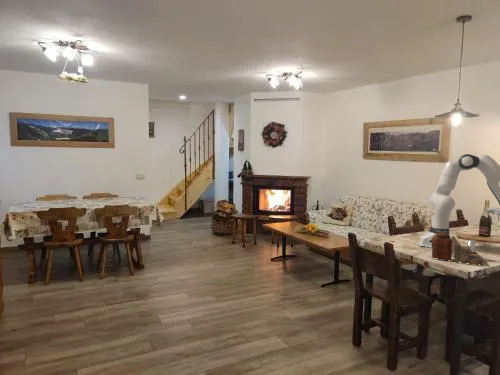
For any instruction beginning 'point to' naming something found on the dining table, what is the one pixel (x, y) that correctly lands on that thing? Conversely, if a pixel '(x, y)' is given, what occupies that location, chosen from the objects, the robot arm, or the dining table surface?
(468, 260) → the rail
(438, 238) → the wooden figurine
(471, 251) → the peg
